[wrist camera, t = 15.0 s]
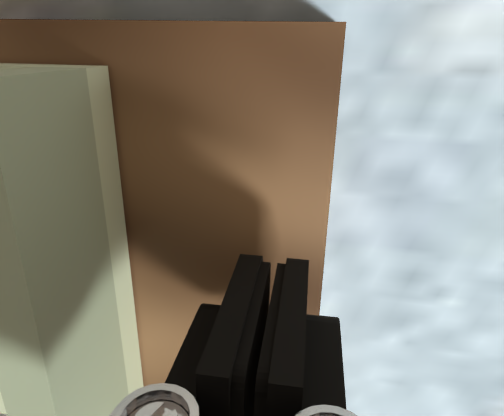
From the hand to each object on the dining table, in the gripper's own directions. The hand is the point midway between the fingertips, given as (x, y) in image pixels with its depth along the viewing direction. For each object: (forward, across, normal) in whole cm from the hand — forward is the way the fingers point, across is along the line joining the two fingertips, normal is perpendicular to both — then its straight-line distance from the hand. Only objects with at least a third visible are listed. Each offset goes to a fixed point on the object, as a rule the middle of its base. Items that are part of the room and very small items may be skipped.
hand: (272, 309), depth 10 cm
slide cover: (+1, +9, 0) cm, 9 cm away
